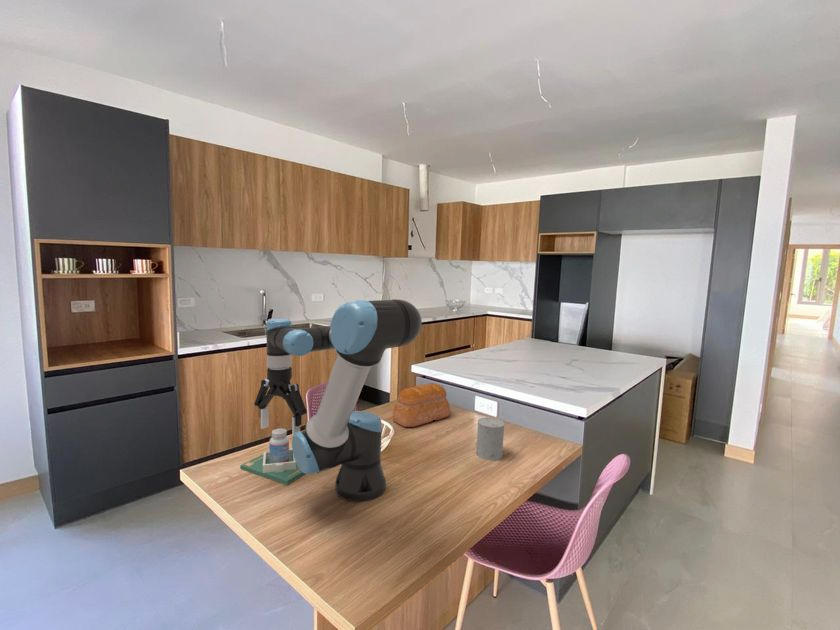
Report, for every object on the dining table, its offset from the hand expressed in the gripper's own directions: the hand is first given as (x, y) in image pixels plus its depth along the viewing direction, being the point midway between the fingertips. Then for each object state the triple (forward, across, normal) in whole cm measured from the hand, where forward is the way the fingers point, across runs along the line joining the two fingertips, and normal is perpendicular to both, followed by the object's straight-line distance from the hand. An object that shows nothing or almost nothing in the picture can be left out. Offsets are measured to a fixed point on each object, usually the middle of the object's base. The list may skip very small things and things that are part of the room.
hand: (280, 431), depth 137 cm
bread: (+13, -19, -65) cm, 69 cm away
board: (+12, +1, 0) cm, 13 cm away
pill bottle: (+12, +1, 0) cm, 12 cm away
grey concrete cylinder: (+14, -56, -46) cm, 74 cm away
